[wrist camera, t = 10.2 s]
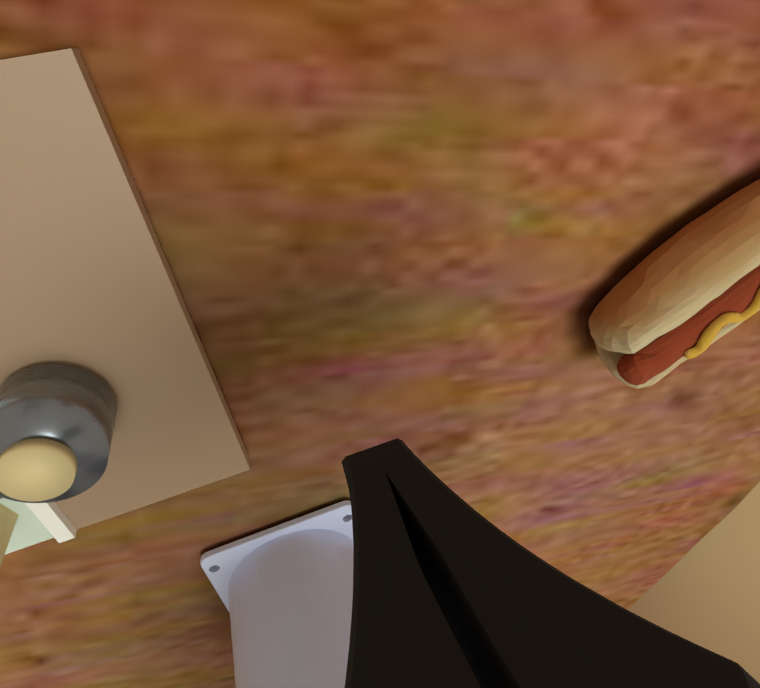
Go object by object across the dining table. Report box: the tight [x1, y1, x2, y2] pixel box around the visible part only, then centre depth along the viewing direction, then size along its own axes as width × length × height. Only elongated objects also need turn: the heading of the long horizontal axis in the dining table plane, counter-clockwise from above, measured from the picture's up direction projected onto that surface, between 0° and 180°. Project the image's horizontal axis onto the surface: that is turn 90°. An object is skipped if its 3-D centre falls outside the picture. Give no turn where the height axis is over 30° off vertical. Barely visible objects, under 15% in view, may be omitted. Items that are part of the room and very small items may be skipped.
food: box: [589, 179, 760, 389], centre depth 23 cm, size 14×6×5 cm, turn 123°
